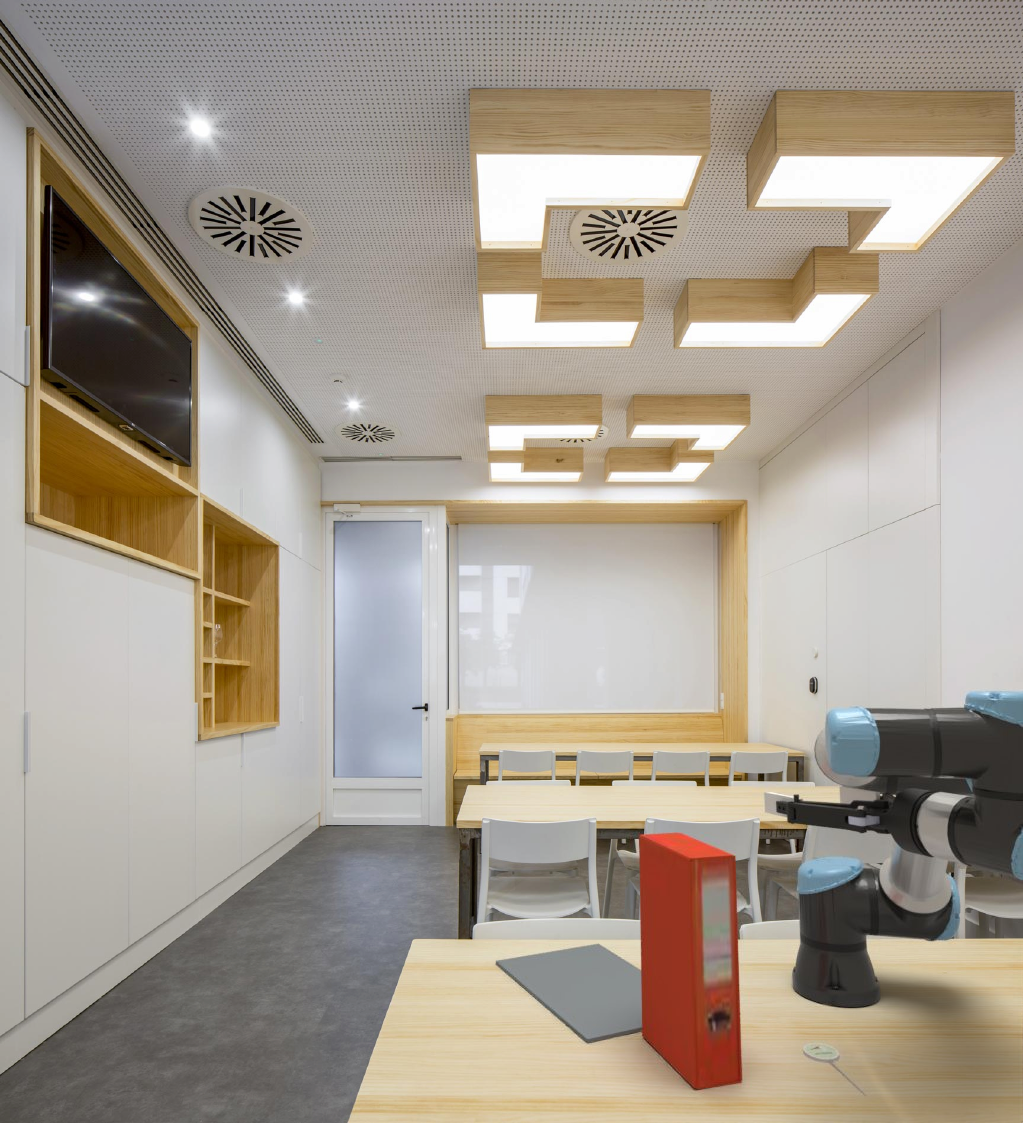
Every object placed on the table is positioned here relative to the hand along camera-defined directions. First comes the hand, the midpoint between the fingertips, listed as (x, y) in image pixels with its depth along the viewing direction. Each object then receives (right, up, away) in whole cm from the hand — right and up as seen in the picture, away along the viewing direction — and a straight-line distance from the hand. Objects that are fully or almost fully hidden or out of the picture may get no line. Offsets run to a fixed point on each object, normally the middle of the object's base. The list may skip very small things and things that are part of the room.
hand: (804, 798), depth 114 cm
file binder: (-14, -44, +11) cm, 47 cm away
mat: (-26, -47, +39) cm, 66 cm away
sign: (+8, -43, +8) cm, 45 cm away
